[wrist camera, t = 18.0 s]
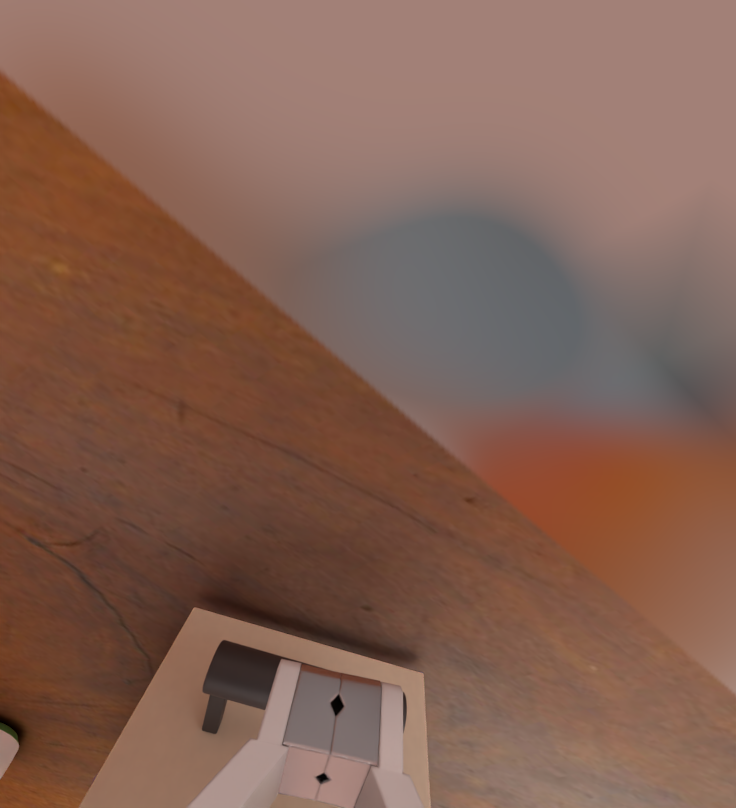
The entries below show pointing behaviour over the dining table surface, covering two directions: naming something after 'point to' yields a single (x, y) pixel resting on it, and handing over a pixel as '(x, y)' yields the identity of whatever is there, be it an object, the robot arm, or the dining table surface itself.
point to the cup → (7, 747)
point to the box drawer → (229, 713)
